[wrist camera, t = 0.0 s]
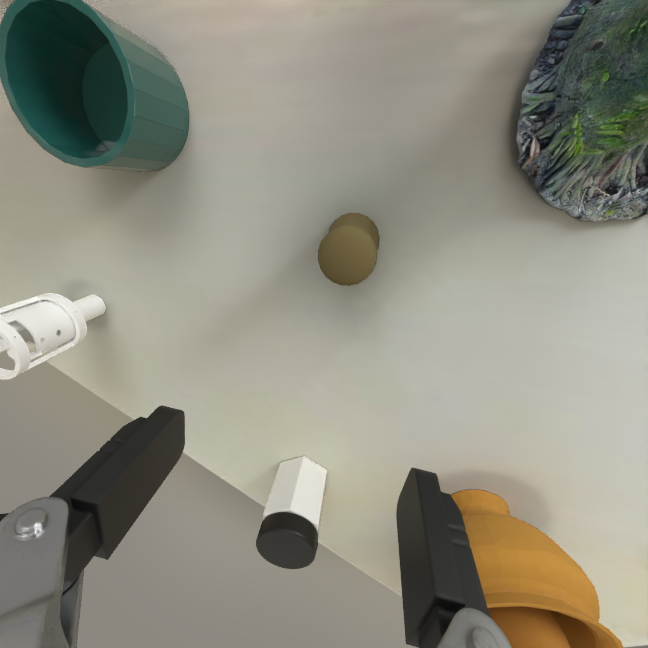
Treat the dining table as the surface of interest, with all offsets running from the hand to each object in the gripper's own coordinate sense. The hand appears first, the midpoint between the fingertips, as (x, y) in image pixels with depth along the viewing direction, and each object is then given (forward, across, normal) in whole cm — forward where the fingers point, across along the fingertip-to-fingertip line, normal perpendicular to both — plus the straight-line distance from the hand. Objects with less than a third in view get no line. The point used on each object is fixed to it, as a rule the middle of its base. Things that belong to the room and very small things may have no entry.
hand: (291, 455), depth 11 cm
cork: (+30, 0, -3) cm, 30 cm away
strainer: (+30, +34, +13) cm, 47 cm away
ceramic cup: (+29, +26, -12) cm, 41 cm away
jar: (+30, 0, +36) cm, 47 cm away
